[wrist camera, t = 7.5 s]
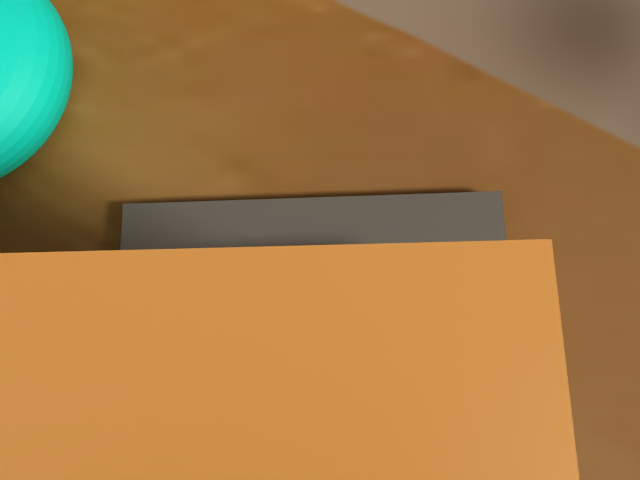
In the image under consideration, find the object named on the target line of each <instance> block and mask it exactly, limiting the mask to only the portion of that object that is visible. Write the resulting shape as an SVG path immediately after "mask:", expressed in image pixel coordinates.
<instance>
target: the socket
mask: <svg viewBox="0 0 640 480" xmlns="http://www.w3.org/2000/svg"><path fill="white" fill-rule="evenodd" d="M499 240H506V233H505V223H504V213H503V203H502V193H501V191H489V192H459V193H430V194H400V195H371V196H341V197H312V198H282V199H253V200H223V201H194V202H164V203H135V204H123V211H122V227H121V242H120V250H146V249H185V248H224V247H263V246H303V245H342V244H381V243H420V242H459V241H499Z"/></svg>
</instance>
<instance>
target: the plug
mask: <svg viewBox="0 0 640 480" xmlns="http://www.w3.org/2000/svg"><path fill="white" fill-rule="evenodd" d="M0 480H579V472H578V464H577V455H576V446H575V438H574V429H573V420H572V412H571V403H570V394H569V386H568V377H567V368H566V360H565V351H564V343H563V334H562V325H561V317H560V308H559V299H558V291H557V282H556V273H555V265H554V256H553V247H552V239H538V240H499V241H459V242H420V243H381V244H342V245H303V246H263V247H224V248H185V249H146V250H107V251H68V252H28V253H0Z"/></svg>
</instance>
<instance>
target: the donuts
mask: <svg viewBox="0 0 640 480" xmlns="http://www.w3.org/2000/svg"><path fill="white" fill-rule="evenodd" d="M72 79H73V58H72V49H71V44H70V40H69V37H68V33H67V31H66V28H65V26H64V24H63V22H62V19H61V17H60V16H59V14H58V12H57V10H56V9H55V7H54V6H53V4H52V3H51V2H50V1H49V0H0V178H1V177H3V176H5V175H7V174H9V173H10V172H12V171H13V170H15V169H16V168H18V167H19V166H21V165H22V164H23V163H24V162H26V161H27V160H28V159H29V158H30V157H31V156H33V155H34V154H35V153H36V152H37V151H38V150H39V149H40V148H41V146H42V145H43V144H44V143H45V142H46V141H47V139H48V138H49V137H50V135H51V134H52V132H53V131H54V129H55V128H56V126H57V124H58V122H59V121H60V119H61V117H62V115H63V113H64V110H65V108H66V105H67V102H68V99H69V95H70V91H71V86H72Z"/></svg>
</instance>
